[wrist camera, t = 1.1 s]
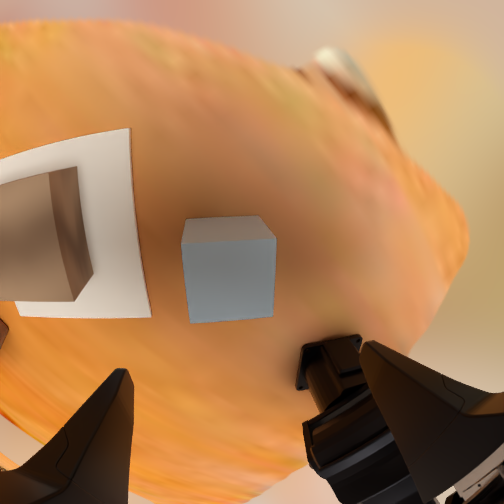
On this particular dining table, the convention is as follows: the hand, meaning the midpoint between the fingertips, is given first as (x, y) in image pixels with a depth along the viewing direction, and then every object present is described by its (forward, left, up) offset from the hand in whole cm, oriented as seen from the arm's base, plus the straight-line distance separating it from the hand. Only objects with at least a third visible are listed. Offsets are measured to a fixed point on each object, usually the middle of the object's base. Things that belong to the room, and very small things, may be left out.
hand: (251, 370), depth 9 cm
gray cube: (0, 0, -12) cm, 12 cm away
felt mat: (+2, +13, -11) cm, 17 cm away
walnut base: (+3, +14, -11) cm, 18 cm away
